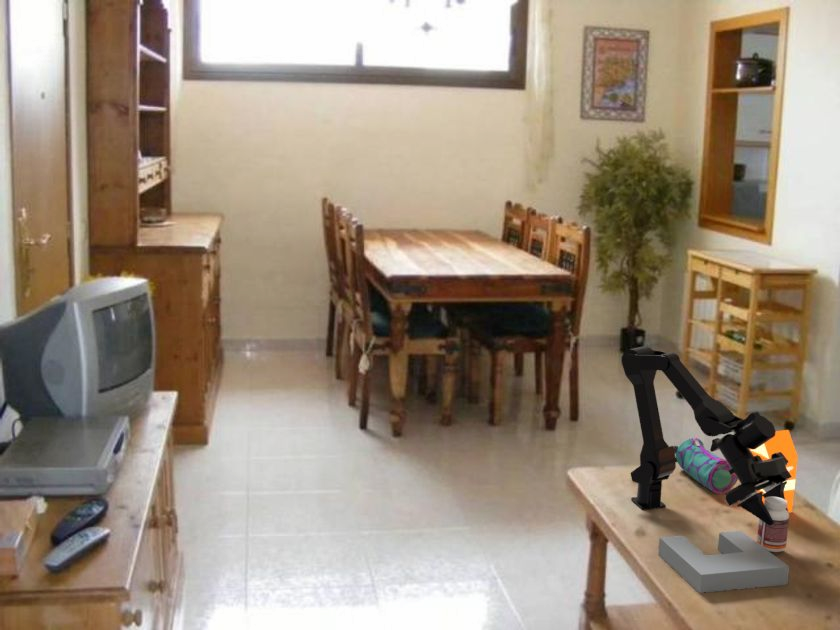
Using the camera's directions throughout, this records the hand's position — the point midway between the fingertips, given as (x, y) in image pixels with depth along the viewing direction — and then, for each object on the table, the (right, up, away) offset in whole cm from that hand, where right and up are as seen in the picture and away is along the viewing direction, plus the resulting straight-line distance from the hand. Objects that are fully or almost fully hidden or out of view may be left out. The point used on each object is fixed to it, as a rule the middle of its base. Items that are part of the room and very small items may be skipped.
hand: (779, 521), depth 218 cm
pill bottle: (-1, -6, +2) cm, 7 cm away
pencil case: (-4, +1, +44) cm, 44 cm away
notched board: (-15, -9, -7) cm, 19 cm away
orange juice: (+6, -3, +26) cm, 27 cm away
